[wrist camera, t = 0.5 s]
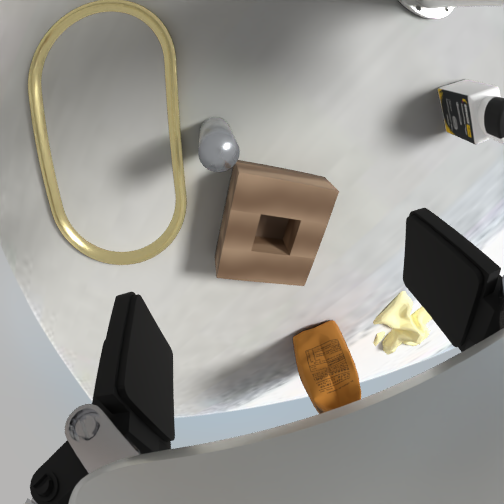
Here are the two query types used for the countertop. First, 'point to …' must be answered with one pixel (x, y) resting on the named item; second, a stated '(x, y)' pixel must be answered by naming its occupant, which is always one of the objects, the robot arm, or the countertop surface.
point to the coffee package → (326, 367)
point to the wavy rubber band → (117, 3)
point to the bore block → (272, 224)
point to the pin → (217, 145)
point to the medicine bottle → (473, 111)
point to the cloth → (402, 324)
